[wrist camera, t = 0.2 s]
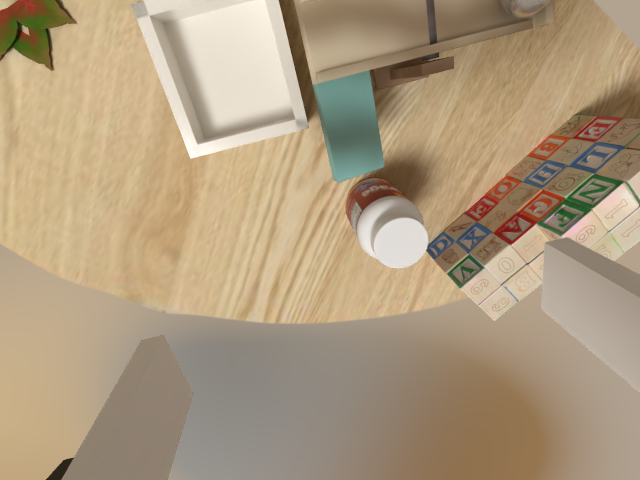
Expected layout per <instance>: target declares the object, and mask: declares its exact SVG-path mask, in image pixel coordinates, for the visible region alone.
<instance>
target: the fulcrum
mask: <svg viewBox="0 0 640 480" xmlns="http://www.w3.org/2000/svg"><path fill="white" fill-rule="evenodd" d="M453 68H454V58H453V56H452V57H447V58H442V59H437V60H433V61H428V62H427V60H424V61H422V57H418V58H415V59H411V60H407V61H403V62H399V63H395V64H391V65H387V66H384V67H380V68H376V69H373V71H374V78H375V84H376V90H379V89H383V88H387V87H391V86H395V85H399V84H403V83H406V82H410V81H414V80H418V79H422V78H426V77H429V75H430V74H434V73H437V72H441V71H445V70H449V69H453Z"/></svg>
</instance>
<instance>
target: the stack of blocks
mask: <svg viewBox="0 0 640 480" xmlns="http://www.w3.org/2000/svg"><path fill="white" fill-rule="evenodd" d="M566 237H568V238H570V239H572V240H573V241H575V242H577V243H579V244H581V245H583V246H585V247H587V248H589V249H591V250H593V251H595V252H597V253H599V254H601V255H603V256H604V257H606V258H608V259H610V260H612V261H615V260H616V259H617V258H619V257H620V256H621V255H623V253H624V252H626V251H627V250H629V249H630V248H631V247H633V246H634V245H635V244H636V243H638V242H639V241H640V119H637V118H625V119H624V118H612V117H596V116H588V115H573V116H572V117H571V118H570V119H569V120H568V121H567V122H566V123H564V124H563V125H562V126H561V127H560V128H559V129H558V130H556V131H555V132H554V133H553V134H552V135H550V136H549V137H548V138H547V139H545V140H544V141H543V142H542V143H541V144H540V145H539V146H538V147H536V148H535V149H534V150H533V151H532V152H531V153H530V154H529V155H528V156H526V157H525V158H524V159H523V160H522V161H520V162H519V163H518V164H517V165H516V166H515V167H514V168H513V169H512V170H510V171H509V172H508V173H507V174H506V176H505V177H504V178H503V179H502V180H501V181H500V182H499V183H498V184H496V185H495V186H494V187H493V188H492V189H491V190H490V191H488V192H487V193H486V195H485V196H484V197H482V198H481V199H480V200H479V201H478V202H477V203H476V204H475V205H473V207H471V208H470V209H469V210H468V211H467V212H466V213H465V214H462V215H461V216H460V217H459V218H458V219H457V220H456V221H455V222H454V223H452V224H451V225H450V226H449V227H448V228H447V229H446V230H445V231H444V232H443V233H441V234H440V235H439V236H438V237H437V238H436V239H435V240H434V241H433V242H431V243H430V244H429V245H428V246H427V249H426V251H427V252H428V253H429V255H430V256H431V257H432V258H433V259H434V260H435V262H436V263H437V264H438V265H439V266H440V267H441V269H442V270H443V271H444V272H445V273H446V274H447V275H448V276H449V277H450V278H451V279H452V280H453V281H454V282H455V283H456V285H457V286H458V287H459V288H460V289H461V290H462V291H463V292H464V293H465V294H466V295H468V296H469V297H470V298H471V299H472V300H473V301H474V302H475V303H476V304H477V305H478V306H479V307H480V308H482V309H483V310H484V311H485V312H486V313H487V314H488V315H489V316H490V317H491V318H492V319H493V320H494V321H495V320H497V319H498V318H499V317H500V316H502V315H503V314H504V313H505V312H506V311H508V310H509V309H510V308H511V307H513V306H514V305H515V304H516V303H517V301H521V300H522V299H523V298H524V297H526V296H527V295H528V294H530V293H531V292H532V291H533V290H535V289H536V288H537V287H538V286H539V285H541V284H542V283H543V266H544V247H545V242H549V241H553V240H557V239H562V238H566Z"/></svg>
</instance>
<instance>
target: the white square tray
mask: <svg viewBox="0 0 640 480" xmlns="http://www.w3.org/2000/svg"><path fill="white" fill-rule="evenodd" d="M131 5H132V8H133V10H134V13H135V16H136V18H137V21H138V23H139V26H140V29H141V31H142V34H143V36H144V39H145V42H146V44H147V47H148V49H149V52H150V54H151V57H152V60H153V62H154V65H155V67H156V70H157V73H158V75H159V78H160V80H161V83H162V85H163V88H164V91H165V93H166V96H167V98H168V101H169V104H170V106H171V109H172V111H173V114H174V117H175V119H176V122H177V124H178V127H179V129H180V132H181V135H182V137H183V140H184V142H185V145H186V148H187V150H188V153H189V155H190V158H194V157H198V156H202V155H206V154H210V153H214V152H218V151H222V150H226V149H230V148H233V147H237V146H241V145H245V144H249V143H253V142H257V141H261V140H265V139H268V138H272V137H276V136H280V135H284V134H288V133H292V132H296V131H300V130H304V129H307V128H309V126H308V122H307V118H306V114H305V109H304V105H303V101H302V97H301V93H300V88H299V84H298V80H297V76H296V71H295V67H294V63H293V59H292V55H291V50H290V46H289V42H288V38H287V34H286V29H285V25H284V21H283V17H282V12H281V8H280V4H279V0H144V1H140V2H136V3H132V4H131Z"/></svg>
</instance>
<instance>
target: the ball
mask: <svg viewBox="0 0 640 480" xmlns="http://www.w3.org/2000/svg"><path fill="white" fill-rule="evenodd" d="M549 2H550V0H500V4H501V6H502V8H503V10H504V11H505V12H506V13H507V14H508V15H510V16H512V17H515V18H525V17H529V16H532V15H534V14H536V13H538V12H539V11H541V10H542V9H543V8H544V7H545V6H546V5H547V4H548V3H549Z"/></svg>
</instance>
